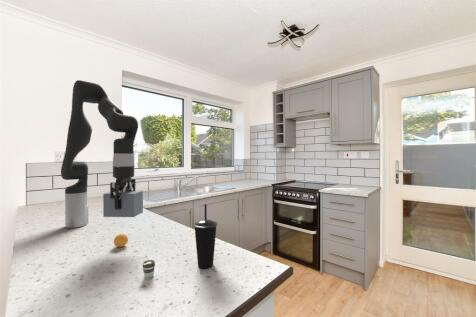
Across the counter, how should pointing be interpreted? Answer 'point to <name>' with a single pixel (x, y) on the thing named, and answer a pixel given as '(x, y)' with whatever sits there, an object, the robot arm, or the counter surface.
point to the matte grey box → (123, 204)
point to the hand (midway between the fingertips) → (123, 206)
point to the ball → (120, 240)
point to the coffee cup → (148, 269)
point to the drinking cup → (205, 241)
